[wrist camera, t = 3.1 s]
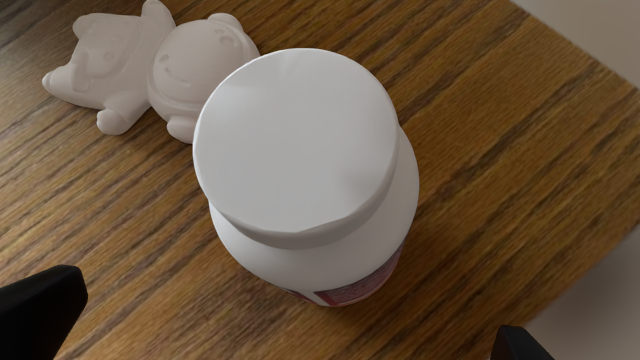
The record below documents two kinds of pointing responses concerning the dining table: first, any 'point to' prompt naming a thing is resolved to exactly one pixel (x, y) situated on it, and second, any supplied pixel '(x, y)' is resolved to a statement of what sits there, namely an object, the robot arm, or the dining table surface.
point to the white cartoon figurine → (150, 67)
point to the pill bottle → (308, 174)
